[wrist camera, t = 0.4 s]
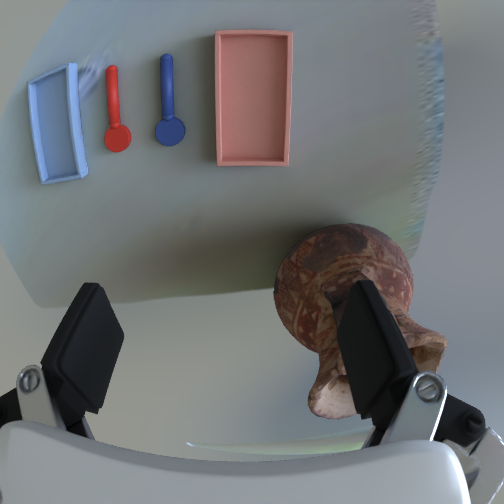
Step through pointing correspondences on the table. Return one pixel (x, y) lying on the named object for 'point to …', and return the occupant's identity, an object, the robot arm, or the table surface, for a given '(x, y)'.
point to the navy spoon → (168, 107)
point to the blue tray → (57, 125)
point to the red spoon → (115, 115)
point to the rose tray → (253, 97)
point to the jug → (334, 300)
